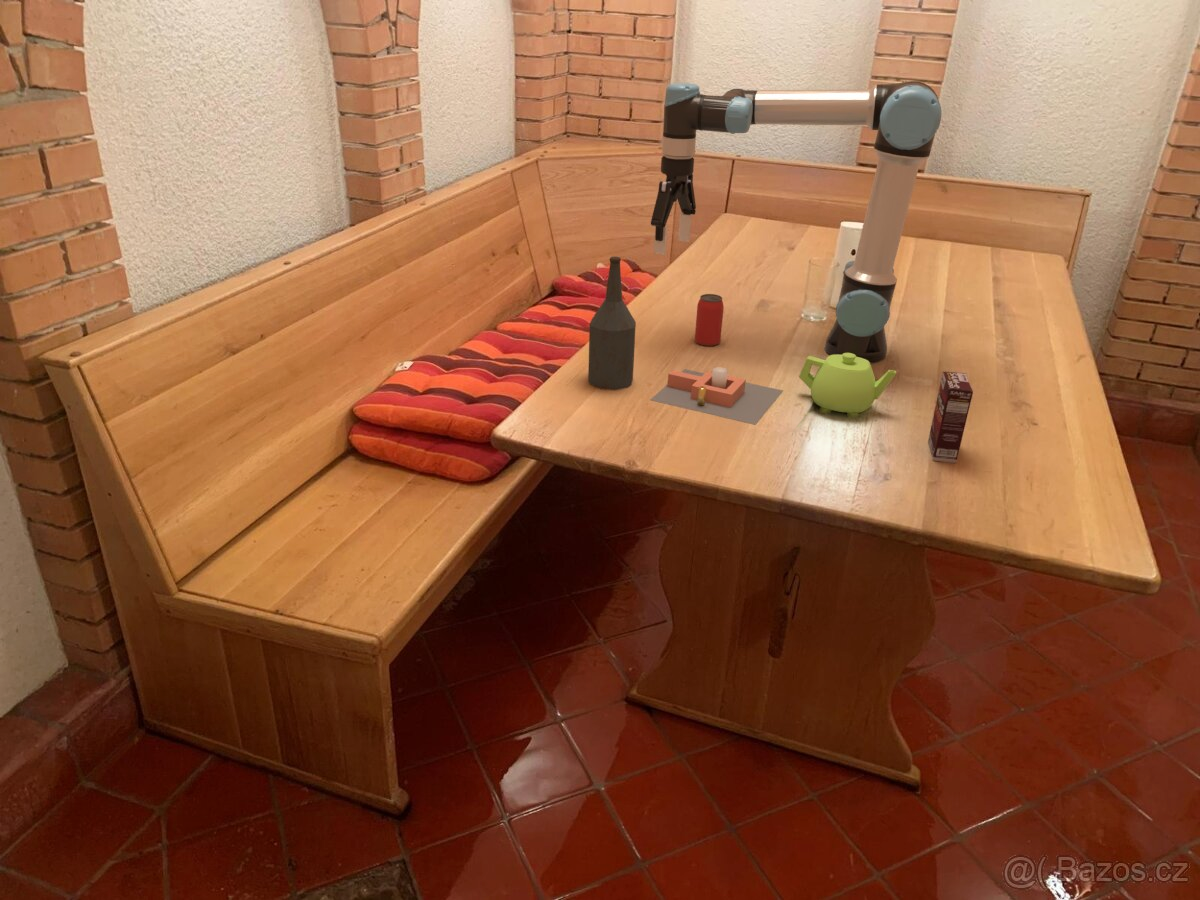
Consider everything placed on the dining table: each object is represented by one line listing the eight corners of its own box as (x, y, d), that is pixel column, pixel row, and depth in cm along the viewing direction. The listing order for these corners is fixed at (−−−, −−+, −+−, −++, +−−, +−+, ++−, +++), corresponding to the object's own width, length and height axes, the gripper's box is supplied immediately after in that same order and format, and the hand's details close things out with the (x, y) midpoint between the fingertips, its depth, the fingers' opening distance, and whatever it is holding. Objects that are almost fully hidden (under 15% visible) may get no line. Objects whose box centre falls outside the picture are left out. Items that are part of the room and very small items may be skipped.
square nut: (744, 392, 203) (745, 379, 201) (730, 407, 195) (731, 394, 194) (677, 377, 209) (678, 365, 208) (661, 391, 202) (662, 379, 200)
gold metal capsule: (705, 404, 196) (707, 387, 195) (703, 407, 195) (704, 390, 193) (698, 402, 197) (700, 385, 195) (696, 405, 196) (697, 388, 194)
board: (782, 396, 205) (786, 365, 201) (754, 431, 189) (758, 398, 185) (684, 374, 214) (686, 345, 211) (649, 406, 198) (651, 374, 195)
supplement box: (926, 441, 187) (942, 370, 180) (950, 444, 186) (967, 373, 179) (931, 461, 180) (948, 387, 172) (957, 464, 179) (975, 390, 171)
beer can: (719, 348, 230) (723, 302, 225) (693, 345, 231) (696, 300, 226) (721, 338, 236) (725, 294, 230) (695, 336, 237) (699, 292, 231)
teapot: (889, 403, 203) (900, 350, 198) (885, 428, 192) (896, 373, 186) (799, 389, 209) (807, 337, 203) (791, 412, 198) (798, 358, 192)
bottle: (600, 398, 201) (604, 266, 187) (580, 382, 209) (583, 253, 195) (640, 391, 205) (647, 260, 191) (619, 375, 213) (625, 249, 199)
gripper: (685, 146, 220) (679, 233, 230) (638, 162, 200) (634, 256, 210) (714, 150, 217) (706, 238, 227) (669, 166, 197) (663, 262, 207)
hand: (671, 247), depth 218 cm, fingers open, 13 cm apart
